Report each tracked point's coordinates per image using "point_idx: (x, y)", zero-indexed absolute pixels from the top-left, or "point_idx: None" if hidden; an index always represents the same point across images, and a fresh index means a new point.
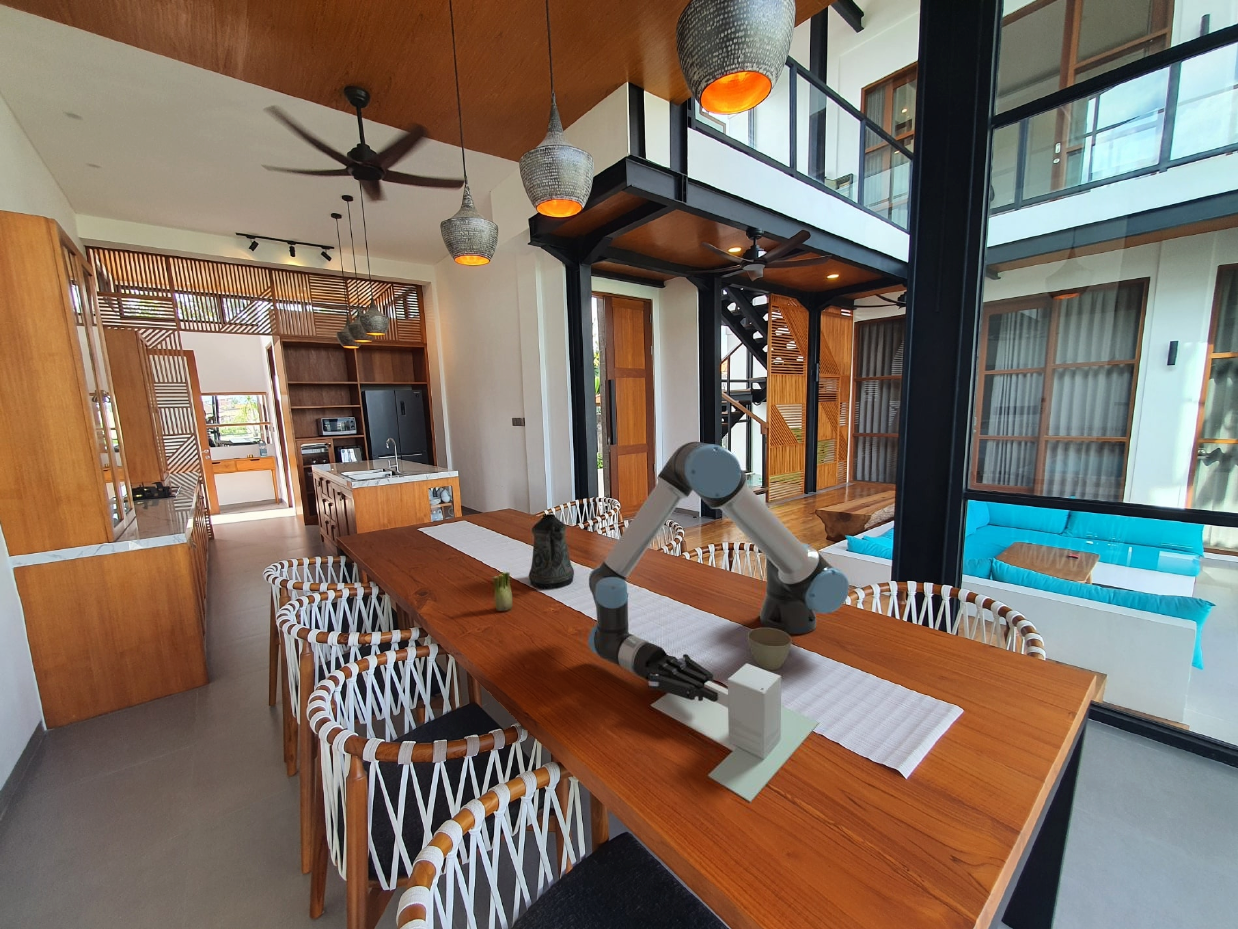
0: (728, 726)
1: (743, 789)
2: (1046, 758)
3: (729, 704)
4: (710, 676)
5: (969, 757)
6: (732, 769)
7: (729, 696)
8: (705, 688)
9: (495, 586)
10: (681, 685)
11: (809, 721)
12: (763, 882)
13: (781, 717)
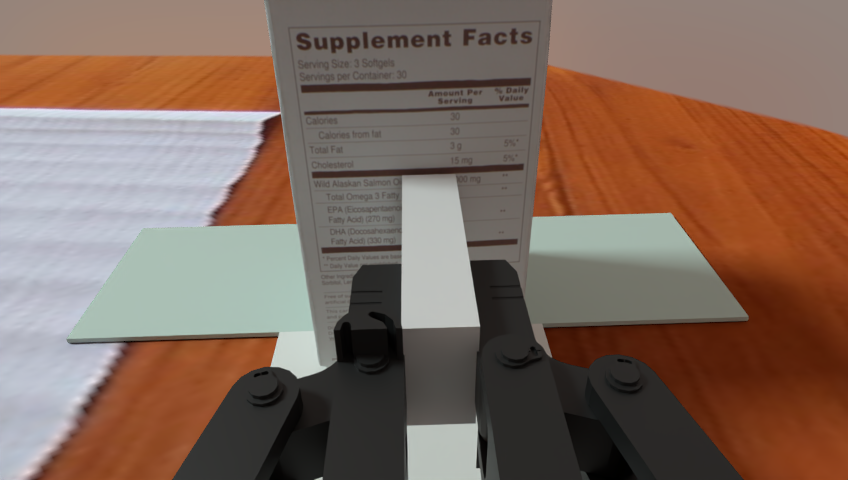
0: (525, 286)
1: (658, 236)
2: (85, 56)
3: (538, 155)
4: (294, 378)
5: (139, 87)
6: (630, 283)
7: (542, 103)
8: (493, 330)
9: None
10: (723, 464)
11: (155, 243)
12: (788, 147)
13: (178, 303)
